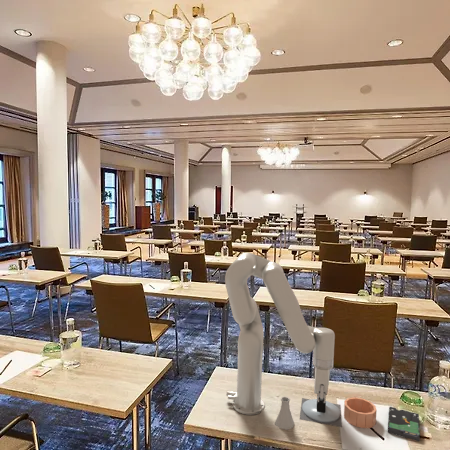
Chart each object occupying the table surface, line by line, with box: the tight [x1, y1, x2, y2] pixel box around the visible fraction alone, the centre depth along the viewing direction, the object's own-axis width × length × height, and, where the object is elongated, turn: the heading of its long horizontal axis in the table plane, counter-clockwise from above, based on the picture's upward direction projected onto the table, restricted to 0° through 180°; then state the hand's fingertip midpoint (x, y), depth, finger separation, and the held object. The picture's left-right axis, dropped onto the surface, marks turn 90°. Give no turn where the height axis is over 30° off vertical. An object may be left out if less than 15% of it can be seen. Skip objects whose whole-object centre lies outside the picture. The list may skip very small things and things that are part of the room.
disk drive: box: [387, 406, 421, 442], centre depth 131 cm, size 10×3×15 cm
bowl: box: [343, 396, 377, 429], centre depth 133 cm, size 11×11×6 cm
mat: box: [299, 397, 343, 428], centre depth 137 cm, size 15×15×1 cm
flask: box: [274, 396, 295, 431], centre depth 129 cm, size 7×7×10 cm
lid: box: [302, 395, 340, 423], centre depth 137 cm, size 14×14×6 cm
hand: (321, 406), depth 137 cm, fingers open, 6 cm apart
